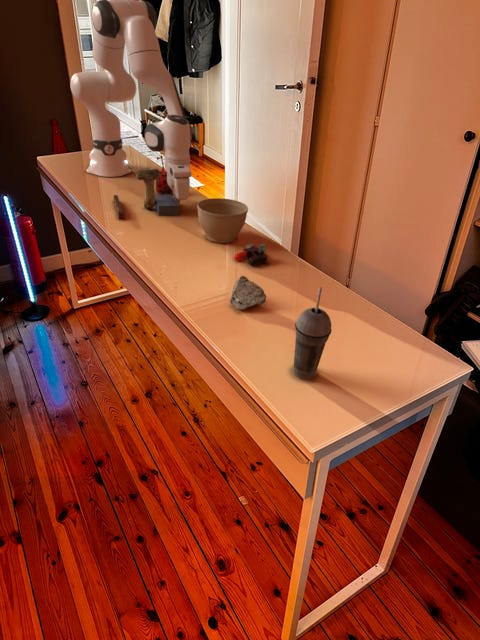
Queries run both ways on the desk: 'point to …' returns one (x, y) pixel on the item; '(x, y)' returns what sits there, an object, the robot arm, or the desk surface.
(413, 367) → the desk surface
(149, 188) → the mushroom
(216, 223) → the planter bowl
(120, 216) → the ledge
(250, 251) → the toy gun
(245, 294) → the rock sample
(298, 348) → the beverage cup
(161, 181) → the red clay folk toy
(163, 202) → the block
